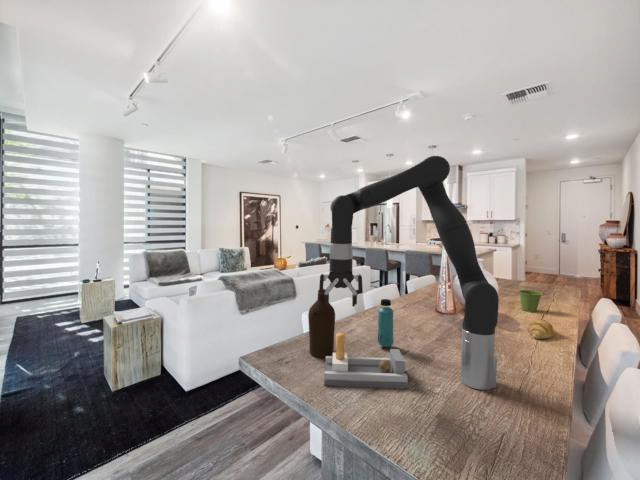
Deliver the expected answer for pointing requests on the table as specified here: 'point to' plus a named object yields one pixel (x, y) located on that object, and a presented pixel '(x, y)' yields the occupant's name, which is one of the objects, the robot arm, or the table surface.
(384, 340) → the beverage bottle
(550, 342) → the table surface
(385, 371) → the walnut
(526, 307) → the plant pot
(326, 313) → the olive oil
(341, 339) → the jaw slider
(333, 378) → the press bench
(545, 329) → the croissant
